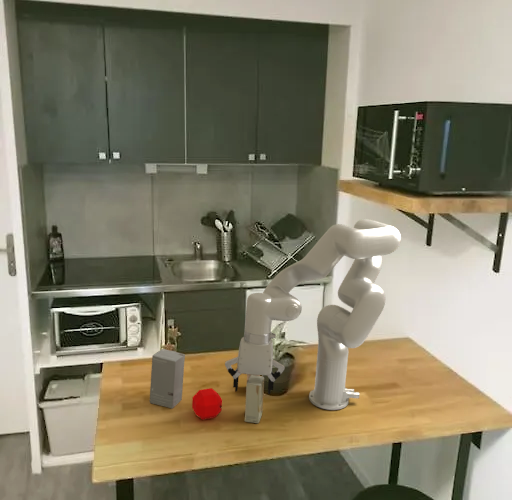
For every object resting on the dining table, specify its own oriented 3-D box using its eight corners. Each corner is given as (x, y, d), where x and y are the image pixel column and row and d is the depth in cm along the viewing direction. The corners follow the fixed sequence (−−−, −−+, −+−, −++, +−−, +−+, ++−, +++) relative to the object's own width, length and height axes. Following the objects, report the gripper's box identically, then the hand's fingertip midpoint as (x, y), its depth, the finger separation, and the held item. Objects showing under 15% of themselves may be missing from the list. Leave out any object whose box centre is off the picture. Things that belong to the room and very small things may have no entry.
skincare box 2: (258, 424, 153) (260, 386, 150) (244, 422, 154) (245, 384, 151) (262, 412, 159) (264, 376, 156) (248, 410, 160) (250, 374, 157)
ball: (223, 420, 154) (224, 396, 152) (197, 424, 151) (198, 400, 149) (215, 406, 161) (216, 383, 160) (190, 410, 158) (190, 387, 157)
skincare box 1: (149, 403, 161) (149, 356, 157) (160, 393, 168) (161, 347, 164) (173, 409, 158) (174, 361, 155) (184, 398, 165) (185, 352, 161)
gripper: (286, 333, 154) (281, 386, 158) (227, 329, 154) (224, 382, 158) (288, 343, 147) (282, 399, 150) (226, 339, 146) (222, 394, 150)
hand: (252, 390), depth 154 cm, fingers open, 9 cm apart
